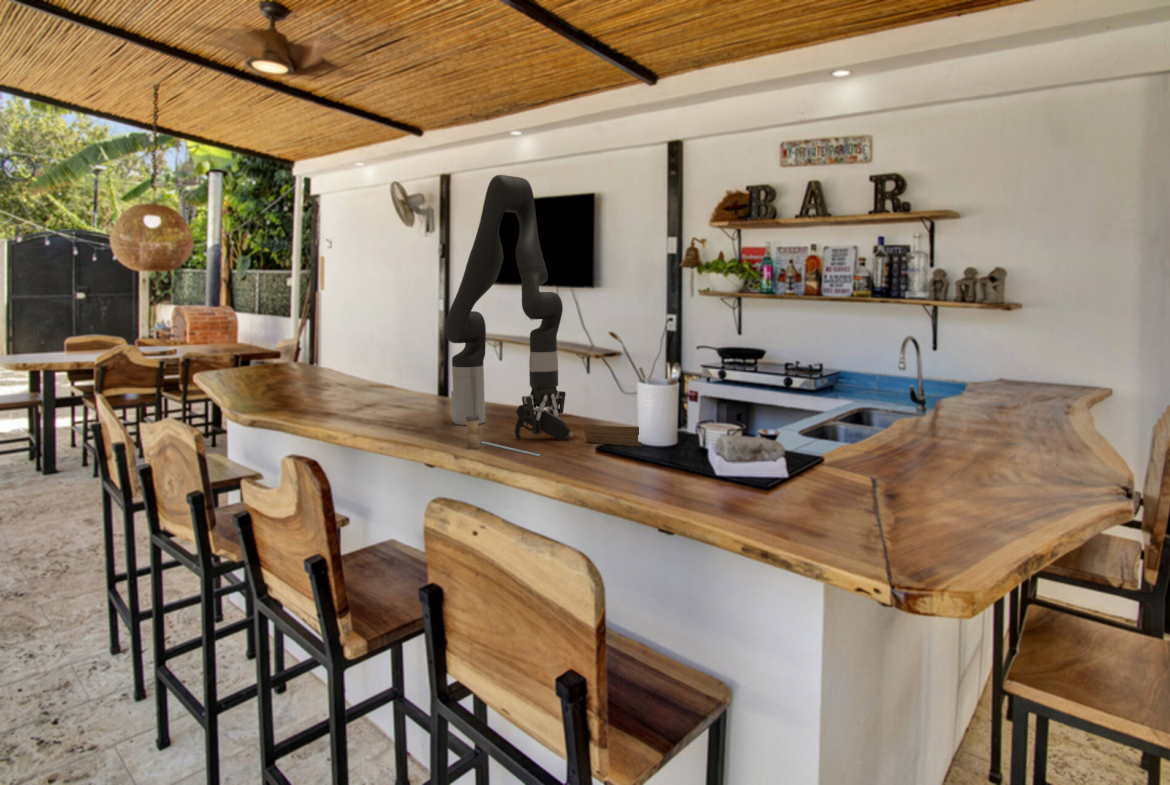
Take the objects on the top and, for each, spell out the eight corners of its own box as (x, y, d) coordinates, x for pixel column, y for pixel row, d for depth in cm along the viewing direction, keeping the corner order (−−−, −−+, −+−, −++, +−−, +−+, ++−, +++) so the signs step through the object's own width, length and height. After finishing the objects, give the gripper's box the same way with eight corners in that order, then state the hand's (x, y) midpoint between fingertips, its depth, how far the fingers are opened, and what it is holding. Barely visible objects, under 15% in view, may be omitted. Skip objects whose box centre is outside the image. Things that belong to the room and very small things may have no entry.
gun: (559, 461, 182) (576, 428, 181) (505, 432, 183) (521, 399, 181) (560, 458, 185) (577, 426, 184) (507, 430, 185) (523, 398, 184)
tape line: (480, 442, 179) (480, 442, 179) (483, 442, 180) (483, 441, 180) (537, 456, 164) (537, 455, 164) (540, 455, 165) (540, 454, 165)
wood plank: (643, 445, 175) (643, 426, 175) (641, 447, 173) (641, 427, 173) (586, 441, 181) (586, 422, 180) (583, 443, 179) (583, 424, 178)
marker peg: (464, 447, 174) (463, 416, 173) (474, 445, 176) (473, 414, 175) (472, 449, 172) (471, 417, 171) (482, 447, 174) (481, 416, 173)
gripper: (553, 365, 189) (554, 426, 191) (513, 370, 178) (515, 434, 181) (573, 367, 183) (573, 430, 186) (533, 372, 173) (534, 438, 176)
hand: (544, 431), depth 183 cm, fingers open, 5 cm apart
